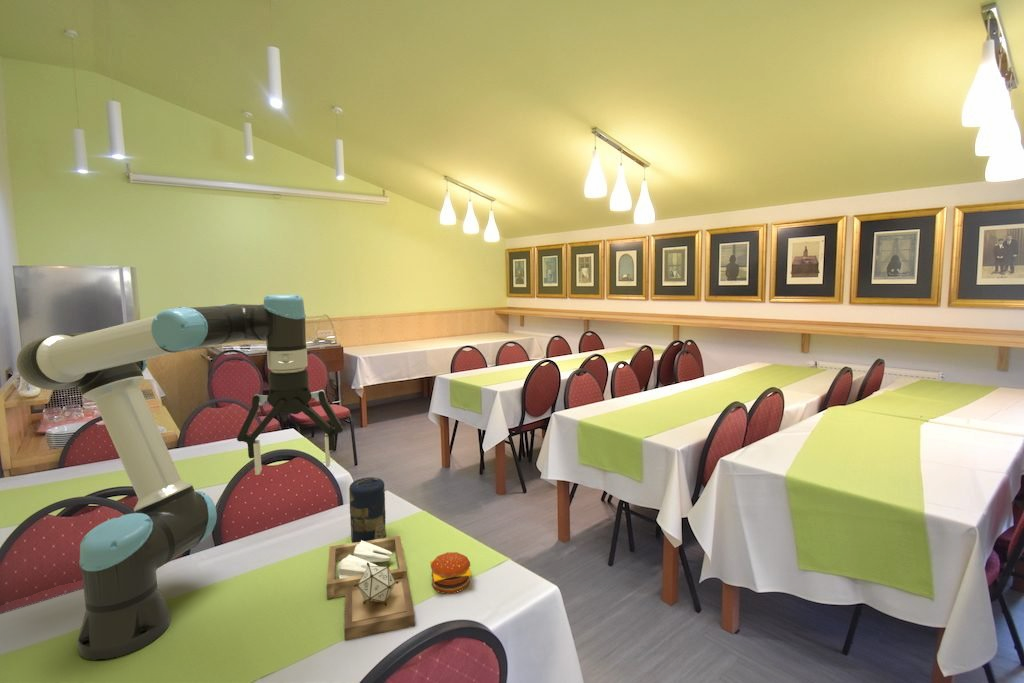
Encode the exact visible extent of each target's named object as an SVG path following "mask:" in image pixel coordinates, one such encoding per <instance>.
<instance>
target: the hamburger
mask: <svg viewBox="0 0 1024 683" xmlns="http://www.w3.org/2000/svg"><path fill="white" fill-rule="evenodd" d="M429 563H430V568H431V577H432V579H431V585H432V588H433V587H434V588H433V589H434V590H435V591H436V590H437V592H438V591H439V593H441V592H444V593H443V594H446V593H449V594H455V593H454V592H456V593H458V592H457V591H459V592H461V591H460V590H462V589H463V590H465V589H466V588H467V587H468V586H469V584H470V577H472V572H471V568H470V567H471V561H470V560H469V558H468V556H466V555H464V554H462V553H459V552H457V551H456V552H455V551H454V552H453V551H452V552H449V551H448V552H444V553H442V554H439V555H437V556H436V557H435V558H434V559H433V560H430V561H429ZM467 585H468V586H467ZM465 587H466V588H465ZM464 588H465V589H464ZM463 590H462V591H463Z"/></svg>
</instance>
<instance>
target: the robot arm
mask: <svg viewBox="0 0 1024 683" xmlns="http://www.w3.org/2000/svg"><path fill="white" fill-rule="evenodd" d="M304 304H305V303H304V298H303V297H302V296H300V295H299V294H268V295H265V296H264V297H263V304H245V303H243V304H238V303H226V304H219V305H213V306H212V305H211V306H196V307H187V306H180V307H174V308H170V309H169V308H167V309H163V310H162V311H159V312H158V313H157V315H153V316H149V317H145V318H141V319H138V320H133V321H129V322H125V323H121V324H118V325H114V326H109V327H107V328H102V329H98V330H94V331H85V332H77V333H76V332H75V333H65V334H52V335H47V336H43V337H42V336H41V337H38V338H36V339H33V340H32V341H31V342H28V343H27V344H25V345H24V346H23V347H22V349H20V352H19V353H18V355H17V357H16V368H17V371H18V374H19V375H20V377H21V378H22V379H23V380H24V381H25V382H27V383H28V384H29V385H31V386H33V387H36V388H38V389H42V390H48V391H60V390H61V391H62V390H68V389H75V388H78V390H79V392H80V394H81V395H82V398H84V399H86V400H89V401H92V402H94V403H95V405H96V408H97V410H98V412H99V414H100V416H101V419H102V421H103V424H104V425H105V427H106V430H107V432H108V434H109V437H110V439H111V441H112V443H113V446H114V448H115V450H116V453H117V455H118V457H119V459H120V462H121V463H122V465H123V468H124V470H125V473H126V475H127V477H128V479H129V481H130V483H131V486H132V488H133V490H134V492H135V494H136V496H137V499H138V500H137V503H136V505H135V506H134V508H133V512H134V513H126V514H123V515H120V516H119V517H112V518H110V519H108V520H106V521H103V522H102V523H99V524H98V525H96V526H95V527H93V528H91V530H90V531H88V532H87V533H86V534H85V535H84V537H83V538H82V540H81V542H80V544H79V561H78V562H79V567H80V569H81V577H82V578H81V579H82V586H83V594H84V604H85V612H84V616H83V620H82V622H81V626H80V630H79V633H78V636H77V648H78V649H77V651H78V654H79V656H80V655H81V656H82V657H81V658H83V657H84V658H83V659H85V658H87V659H86V660H89V659H94V660H93V661H97V660H96V659H106V660H110V659H109V658H111V659H115V658H114V657H116V658H119V657H123V656H125V654H126V655H128V654H131V653H133V652H136V651H137V650H139V649H140V650H141V649H142V648H144V647H146V646H147V645H149V644H151V643H152V642H154V641H155V640H156V639H158V638H159V637H160V636H162V635H163V634H164V632H166V630H167V629H168V627H170V624H171V610H170V607H169V604H168V603H167V601H166V600H165V597H164V596H163V594H162V592H161V591H160V589H159V588H158V587H159V586H158V580H157V576H158V575H157V570H158V569H160V568H161V567H163V566H164V565H166V564H167V563H169V562H171V561H173V560H174V559H175V558H177V557H179V556H180V555H182V554H184V553H186V551H189V550H190V549H193V548H195V547H197V546H198V545H200V544H201V543H202V541H204V540H206V538H208V537H209V536H210V535H211V534H212V532H213V531H214V529H215V526H216V523H217V518H218V517H217V516H218V515H217V508H216V504H215V502H214V501H213V499H212V498H211V496H210V495H206V492H203V491H201V490H195V488H194V486H193V484H192V483H190V482H186V481H183V480H182V479H181V476H180V474H179V472H178V469H177V467H176V466H175V463H174V460H173V458H172V456H171V454H170V452H169V449H168V447H167V445H166V443H165V442H166V441H164V438H163V436H162V434H161V432H160V429H159V427H158V424H157V423H156V421H155V418H154V416H153V414H152V412H151V408H150V407H149V405H148V402H147V399H146V398H145V396H144V393H143V391H142V389H141V385H142V383H143V382H144V380H145V376H144V374H143V373H144V371H145V370H146V368H147V367H148V366H147V365H148V362H147V361H148V360H151V359H153V358H158V357H162V356H166V355H170V354H175V353H181V352H185V351H190V350H195V349H198V348H205V347H209V346H216V345H223V344H229V343H230V344H231V343H237V342H244V341H246V342H248V341H252V342H253V341H262V342H265V343H266V353H267V354H266V356H267V359H266V360H267V368H268V370H270V371H269V372H268V376H267V377H268V391H269V392H268V394H261V393H258V392H257V393H255V394H254V395H253V397H252V400H251V408H250V409H249V412H248V414H247V416H246V419H245V421H244V422H243V425H242V427H241V429H240V431H239V433H238V435H237V437H236V441H237V442H241V443H242V442H244V443H246V444H247V452H248V453H247V454H248V458H249V459H254V460H253V462H254V475H256V476H257V475H258V476H259V475H260V474H261V472H262V454H261V441H260V439H257V438H259V435H261V433H262V432H263V431H264V430H265V428H266V427H267V426H268V425H269V424H270V422H272V420H273V419H274V418H275V416H277V414H280V415H282V416H287V415H291V414H292V415H299V414H300V413H303V414H304V415H305V416H307V417H308V418H309V419H310V420H312V422H314V424H316V425H317V426H318V427H319V428H320V429H321V430H322V431H324V433H325V434H324V450H325V451H324V452H325V453H324V455H325V467H326V468H330V466H331V456H330V455H331V453H330V451H334V450H335V447H336V442H335V441H336V439H335V435H336V434H339V433H342V432H343V430H344V428H343V427H344V426H343V424H342V423H341V420H340V419H339V418H338V416H337V415H336V412H335V411H334V409H333V408H332V406H331V404H330V402H329V401H328V400H327V396H326V390H325V389H323V388H322V389H319V390H317V391H312V392H311V390H310V383H309V382H310V381H309V370H308V369H306V368H307V367H308V347H307V340H306V339H307V338H306V336H307V335H306V317H307V315H306V313H305V312H306V311H305V305H304ZM312 398H313V399H314V400H315V401H316V402H319V404H320V406H321V408H322V409H323V411H324V413H325V414H326V416H327V418H328V419H329V421H330V422H331V423H332V425H333V426H331V425H330V423H329V422H327V421H326V419H324V418H323V417H322V416H321V415H320V414H319V413H318V412H316V410H314V408H313V407H312V406H311V405H310V404H309V403H310V402H311V399H312ZM266 402H268V403H269V405H270V406H271V407H272V408H271V410H270V411H269V412H268V413H267V414H266V416H265V417H264V418H263V419H262V420H261V422H259V424H257V427H256V428H255V429H254V430H253V431H252V433H251V434H248V432H249V431H250V428H251V427H252V424H253V422H254V420H255V418H256V417H257V416H256V415H257V414H258V412H259V409H260V407H261V406H263V405H264V403H266ZM153 640H154V641H153ZM122 655H123V656H122ZM118 656H119V657H118Z"/></svg>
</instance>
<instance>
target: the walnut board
mask: <svg viewBox="0 0 1024 683" xmlns="http://www.w3.org/2000/svg"><path fill="white" fill-rule="evenodd" d="M396 581H398V582H399V583H398V584H396V583H395V585H394V587H393V589H392V591H391V592H390V594H389V596H388V598H387V600H386V602H387V606H386V605H385V604H384V602H368V601H366V603H365V604H363V602H364V601H365V599H364V598H363V596H362V594H361V592H360V590H359V588H358V587H353V588H348V589H345V596H344V628H343V630H344V641H349V640H353V639H358V638H362V637H368V636H372V635H376V634H382V633H387V632H391V631H396V630H401V629H406V628H410V627H409V626H411V627H414V626H413V625H415V626H416V618H415V617H416V615H415V610H414V604H413V599H412V594H411V589H410V584H409V579H408V577H407V578H404V579H398V580H395V582H396ZM405 627H406V628H405Z"/></svg>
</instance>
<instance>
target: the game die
mask: <svg viewBox="0 0 1024 683" xmlns="http://www.w3.org/2000/svg"><path fill="white" fill-rule="evenodd" d="M367 566H368V568H367V569H366V571H365V573H364V574H363V576H362V578H361V579H360V581H359V583H358V584H355V585H353V586H355V587H356V586H358V588H359V590H360V592H361V594H362V596H363V598H364V599H365V601H364V602H363V604H365V603H366V601H368V602H384V604H385V605H386V606H387V602H386V600H387V598H388V596H389V594H390V592H391V591H392V589H393V587H394V585H395V583H396V584H398V583H399V582H398V581H396V582H395V580H394V578H393V576H392V574H391V572H390V570H391V569H390V567H391V563H389V564H387V565H386V566H383V565H382V566H381V565H377V566H369V563H368V562H367Z"/></svg>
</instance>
